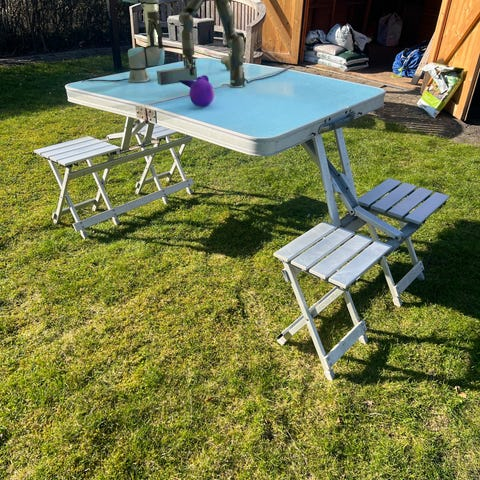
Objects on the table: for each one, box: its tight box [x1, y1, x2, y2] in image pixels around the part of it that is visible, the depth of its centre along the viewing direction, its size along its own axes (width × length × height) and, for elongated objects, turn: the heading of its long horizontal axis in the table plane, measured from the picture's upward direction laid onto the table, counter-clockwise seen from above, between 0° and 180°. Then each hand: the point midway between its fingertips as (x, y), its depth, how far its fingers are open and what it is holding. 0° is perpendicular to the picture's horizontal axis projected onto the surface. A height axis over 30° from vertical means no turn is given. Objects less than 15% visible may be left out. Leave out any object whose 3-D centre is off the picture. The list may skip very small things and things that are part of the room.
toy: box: [179, 74, 216, 108], centre depth 268 cm, size 16×18×27 cm
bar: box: [156, 66, 198, 86], centre depth 292 cm, size 26×5×8 cm, turn 122°
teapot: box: [220, 49, 245, 71], centre depth 370 cm, size 21×12×15 cm, turn 120°
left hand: (156, 47), depth 296 cm, fingers open, 13 cm apart
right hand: (190, 74), depth 297 cm, fingers closed on bar, 5 cm apart
